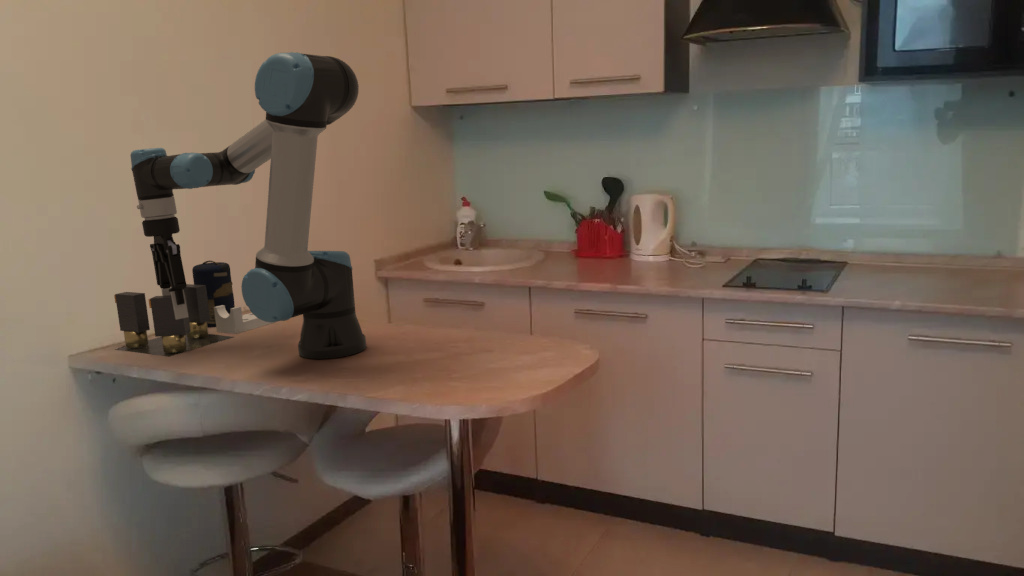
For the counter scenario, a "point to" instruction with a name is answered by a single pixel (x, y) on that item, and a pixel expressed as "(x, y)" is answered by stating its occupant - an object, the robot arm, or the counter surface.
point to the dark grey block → (169, 324)
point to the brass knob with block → (133, 318)
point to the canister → (215, 286)
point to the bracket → (236, 320)
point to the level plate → (191, 343)
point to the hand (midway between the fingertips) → (177, 316)
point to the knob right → (197, 310)
